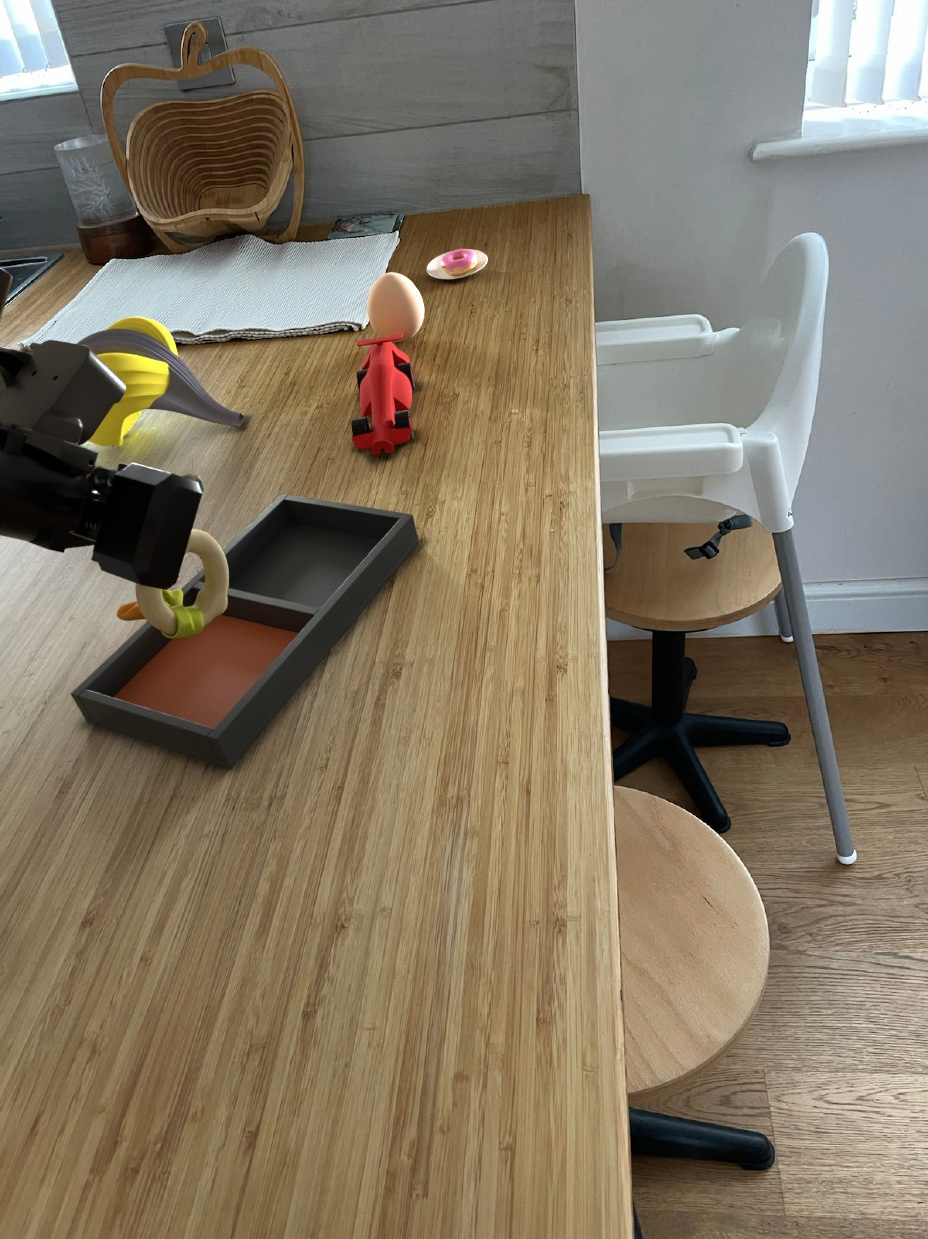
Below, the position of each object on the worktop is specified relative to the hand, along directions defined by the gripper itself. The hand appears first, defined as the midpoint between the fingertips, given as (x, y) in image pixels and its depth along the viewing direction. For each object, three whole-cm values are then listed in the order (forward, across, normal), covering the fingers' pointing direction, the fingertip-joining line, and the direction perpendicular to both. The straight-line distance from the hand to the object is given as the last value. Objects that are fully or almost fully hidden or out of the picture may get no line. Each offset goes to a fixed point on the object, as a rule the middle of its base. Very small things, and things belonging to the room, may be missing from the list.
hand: (177, 530), depth 63 cm
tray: (+13, +2, +6) cm, 14 cm away
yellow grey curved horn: (+27, +38, -8) cm, 47 cm away
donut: (+61, +30, -44) cm, 81 cm away
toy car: (+35, +14, -17) cm, 41 cm away
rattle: (+5, +2, +6) cm, 8 cm away
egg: (+46, +24, -28) cm, 59 cm away
